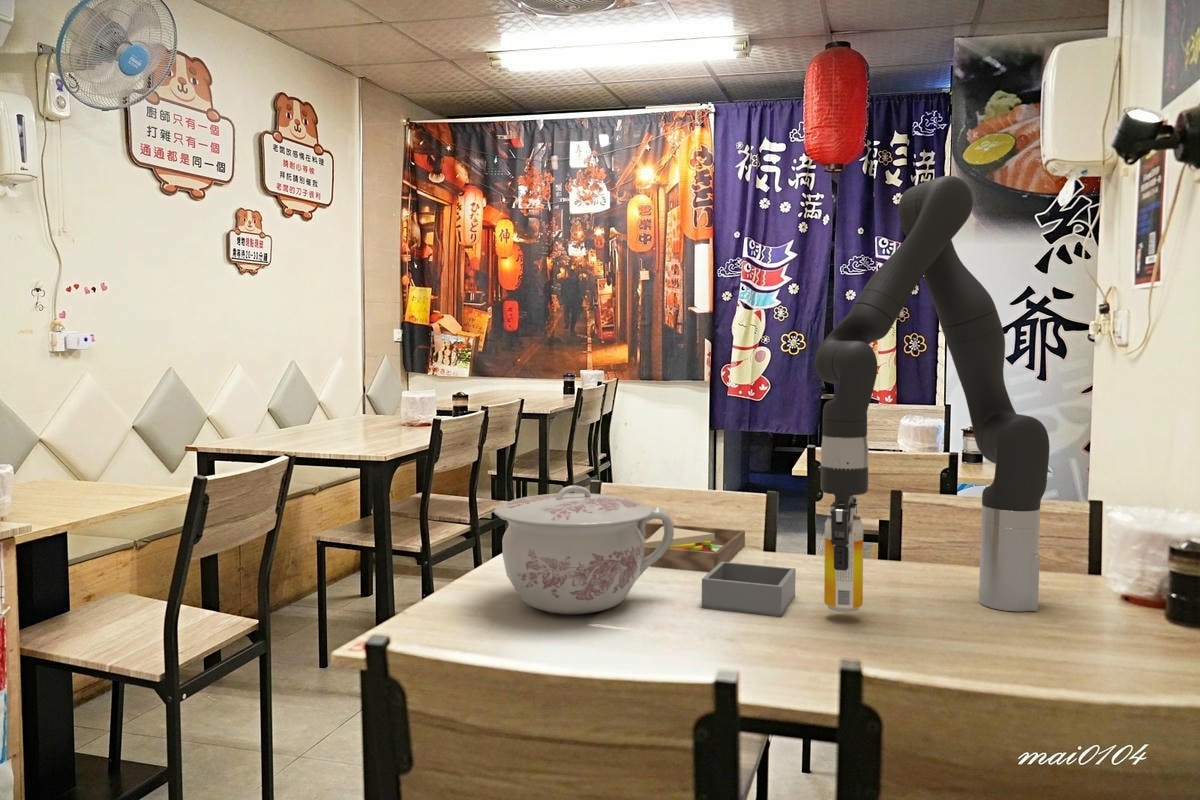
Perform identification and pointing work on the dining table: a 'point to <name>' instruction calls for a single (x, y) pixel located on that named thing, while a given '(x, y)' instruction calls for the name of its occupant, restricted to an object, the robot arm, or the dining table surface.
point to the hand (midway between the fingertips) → (843, 564)
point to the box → (749, 588)
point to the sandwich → (685, 540)
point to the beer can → (844, 585)
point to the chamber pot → (577, 548)
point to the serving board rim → (697, 559)
